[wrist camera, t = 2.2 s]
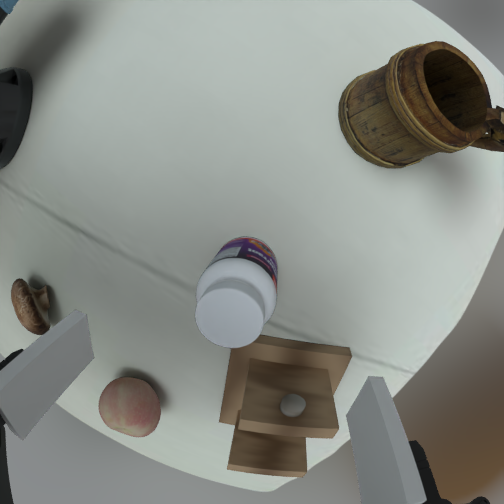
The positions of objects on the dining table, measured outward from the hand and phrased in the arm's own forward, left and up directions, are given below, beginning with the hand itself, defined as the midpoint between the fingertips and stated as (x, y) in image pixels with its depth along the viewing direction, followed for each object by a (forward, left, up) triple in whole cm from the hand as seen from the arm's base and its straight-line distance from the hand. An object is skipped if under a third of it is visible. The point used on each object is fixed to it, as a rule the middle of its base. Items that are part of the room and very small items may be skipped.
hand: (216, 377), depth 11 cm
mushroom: (-27, -11, -15) cm, 33 cm away
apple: (-11, -20, -14) cm, 27 cm away
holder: (+6, -14, -14) cm, 21 cm away
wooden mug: (+12, +15, -14) cm, 24 cm away
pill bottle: (0, 0, -14) cm, 14 cm away
